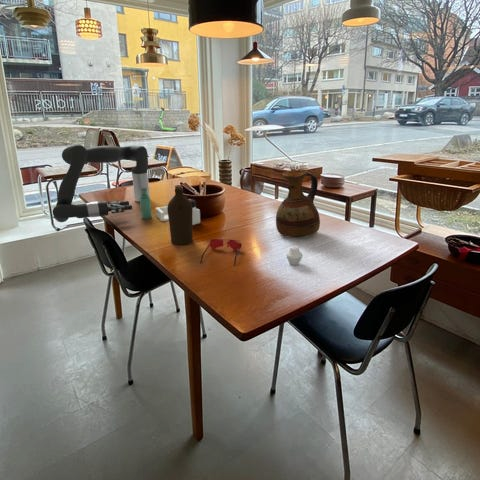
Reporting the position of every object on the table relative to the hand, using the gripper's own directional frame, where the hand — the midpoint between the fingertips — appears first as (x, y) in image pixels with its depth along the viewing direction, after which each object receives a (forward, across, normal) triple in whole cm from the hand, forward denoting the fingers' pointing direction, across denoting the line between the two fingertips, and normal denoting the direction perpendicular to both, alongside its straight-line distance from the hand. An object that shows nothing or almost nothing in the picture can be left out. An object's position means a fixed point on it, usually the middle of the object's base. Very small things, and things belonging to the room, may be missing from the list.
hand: (130, 205), depth 190 cm
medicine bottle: (+26, -19, +8) cm, 33 cm away
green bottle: (+8, 0, +8) cm, 11 cm away
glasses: (+23, -65, +8) cm, 70 cm away
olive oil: (+14, -42, +8) cm, 45 cm away
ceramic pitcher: (+65, -57, +8) cm, 87 cm away
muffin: (+45, -84, +8) cm, 96 cm away
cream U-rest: (+19, -4, +8) cm, 21 cm away
